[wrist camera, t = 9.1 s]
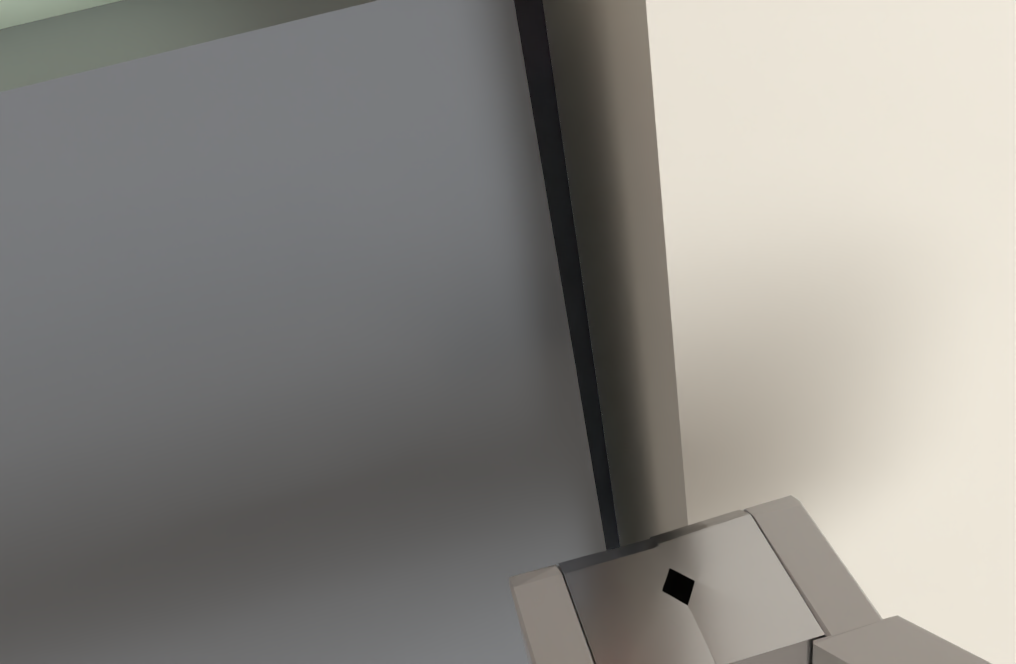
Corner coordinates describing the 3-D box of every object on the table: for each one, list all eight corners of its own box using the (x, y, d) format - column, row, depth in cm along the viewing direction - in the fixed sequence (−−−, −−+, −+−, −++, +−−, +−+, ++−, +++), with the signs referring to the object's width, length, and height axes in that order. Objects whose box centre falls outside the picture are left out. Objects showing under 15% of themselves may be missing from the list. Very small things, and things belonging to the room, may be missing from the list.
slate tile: (-276, 95, 10) (-411, 191, 8) (459, -80, 11) (509, -31, 9) (159, 736, 17) (146, 878, 15) (590, 605, 17) (635, 723, 15)
